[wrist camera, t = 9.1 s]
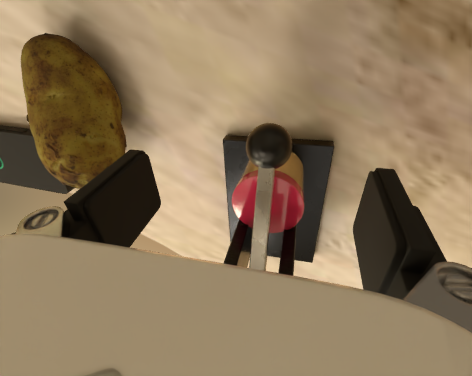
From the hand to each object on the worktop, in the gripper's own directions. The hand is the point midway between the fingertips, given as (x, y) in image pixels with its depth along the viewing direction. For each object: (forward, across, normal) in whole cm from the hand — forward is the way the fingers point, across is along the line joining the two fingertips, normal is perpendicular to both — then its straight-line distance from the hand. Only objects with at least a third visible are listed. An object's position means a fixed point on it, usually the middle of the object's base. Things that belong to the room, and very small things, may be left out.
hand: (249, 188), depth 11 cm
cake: (+12, 0, +7) cm, 14 cm away
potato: (+14, +18, +1) cm, 23 cm away
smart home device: (+14, +36, +8) cm, 40 cm away
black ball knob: (+6, 0, +7) cm, 9 cm away
